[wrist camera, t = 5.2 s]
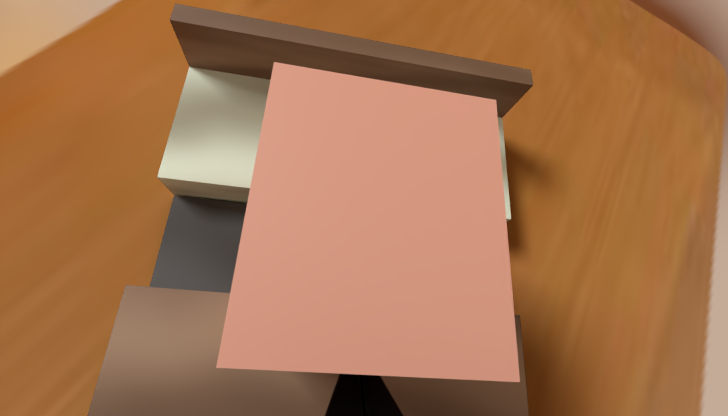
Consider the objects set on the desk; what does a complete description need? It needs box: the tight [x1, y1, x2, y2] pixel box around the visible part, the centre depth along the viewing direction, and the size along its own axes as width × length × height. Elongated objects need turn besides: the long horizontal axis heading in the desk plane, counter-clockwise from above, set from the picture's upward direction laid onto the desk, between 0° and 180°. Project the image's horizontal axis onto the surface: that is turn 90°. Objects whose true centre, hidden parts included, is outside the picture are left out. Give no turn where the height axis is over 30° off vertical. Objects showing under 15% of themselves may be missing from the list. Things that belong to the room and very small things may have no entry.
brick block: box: [216, 62, 520, 382], centre depth 12 cm, size 7×6×9 cm
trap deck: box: [87, 4, 533, 416], centre depth 16 cm, size 23×18×6 cm
